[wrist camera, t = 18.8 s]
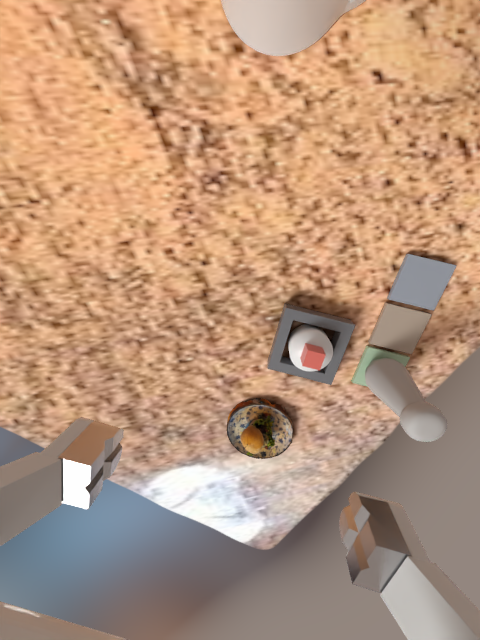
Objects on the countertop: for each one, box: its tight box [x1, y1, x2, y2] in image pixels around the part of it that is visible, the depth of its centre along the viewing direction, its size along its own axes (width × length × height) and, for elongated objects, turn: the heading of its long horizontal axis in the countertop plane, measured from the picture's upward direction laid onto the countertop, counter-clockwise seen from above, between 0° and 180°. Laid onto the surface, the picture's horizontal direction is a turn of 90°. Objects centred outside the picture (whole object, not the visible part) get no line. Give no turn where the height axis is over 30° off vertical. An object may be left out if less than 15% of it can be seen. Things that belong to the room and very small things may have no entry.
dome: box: [288, 324, 333, 372], centre depth 37 cm, size 6×6×6 cm
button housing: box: [268, 303, 355, 385], centre depth 39 cm, size 10×10×2 cm
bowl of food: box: [227, 398, 293, 459], centre depth 43 cm, size 12×12×8 cm
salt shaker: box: [365, 358, 447, 442], centre depth 33 cm, size 6×6×13 cm
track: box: [351, 254, 457, 387], centre depth 38 cm, size 20×6×1 cm, turn 167°
